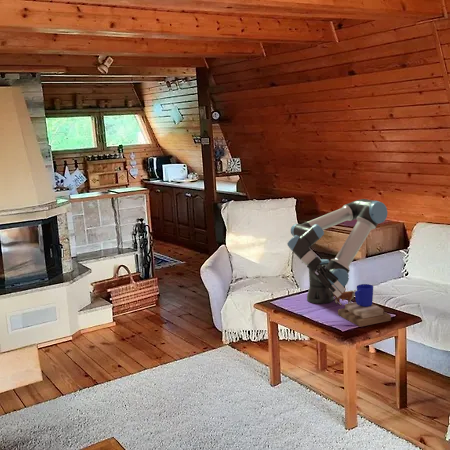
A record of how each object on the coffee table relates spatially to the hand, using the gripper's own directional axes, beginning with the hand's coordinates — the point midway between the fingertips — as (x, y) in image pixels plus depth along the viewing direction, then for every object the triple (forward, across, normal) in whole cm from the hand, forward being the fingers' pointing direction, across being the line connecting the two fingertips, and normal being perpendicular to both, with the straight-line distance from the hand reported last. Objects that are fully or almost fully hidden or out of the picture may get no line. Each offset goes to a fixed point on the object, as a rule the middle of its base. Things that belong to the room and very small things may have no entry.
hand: (342, 293), depth 288 cm
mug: (+12, -2, +3) cm, 12 cm away
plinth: (+16, -3, -1) cm, 16 cm away
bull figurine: (+6, -22, -10) cm, 25 cm away
